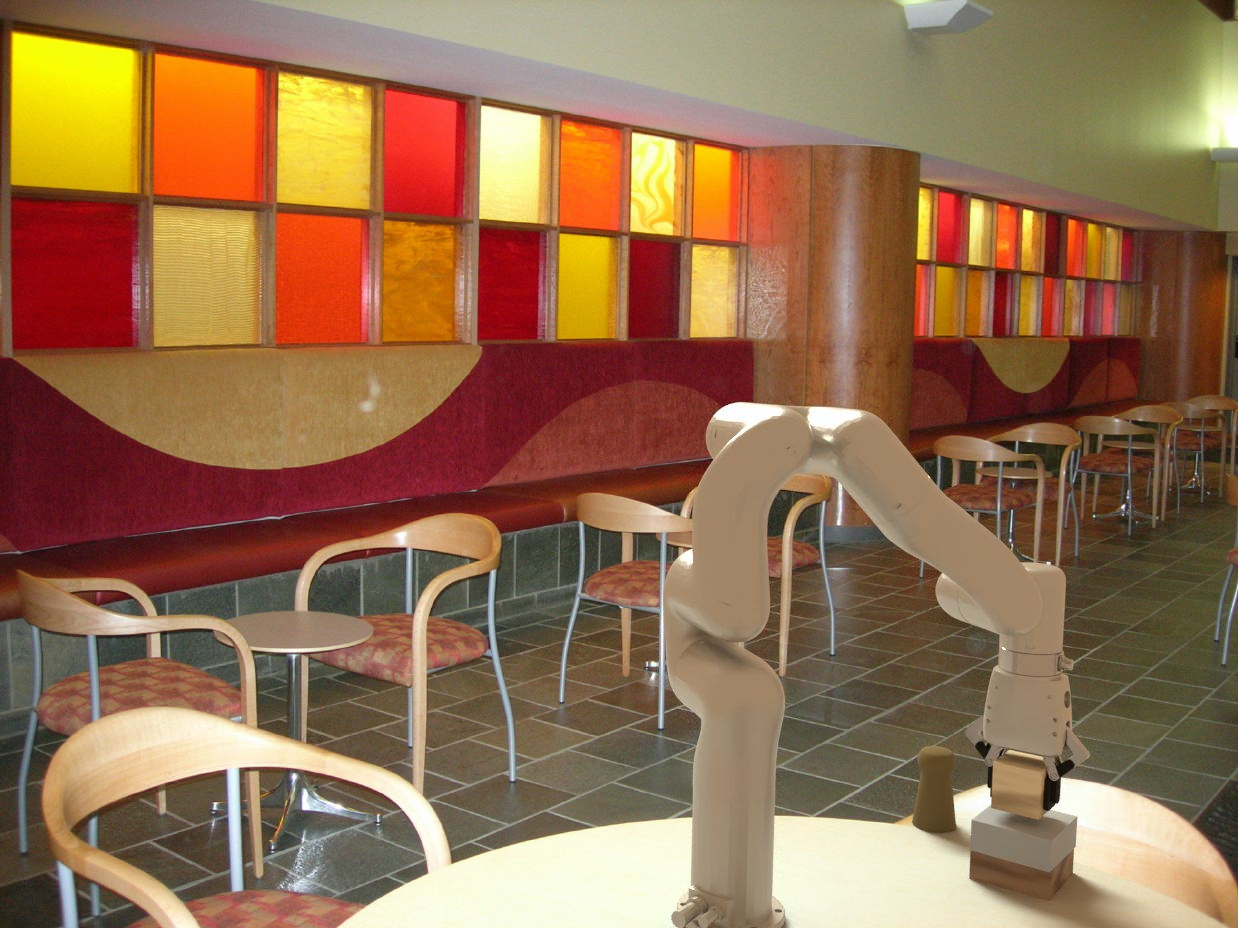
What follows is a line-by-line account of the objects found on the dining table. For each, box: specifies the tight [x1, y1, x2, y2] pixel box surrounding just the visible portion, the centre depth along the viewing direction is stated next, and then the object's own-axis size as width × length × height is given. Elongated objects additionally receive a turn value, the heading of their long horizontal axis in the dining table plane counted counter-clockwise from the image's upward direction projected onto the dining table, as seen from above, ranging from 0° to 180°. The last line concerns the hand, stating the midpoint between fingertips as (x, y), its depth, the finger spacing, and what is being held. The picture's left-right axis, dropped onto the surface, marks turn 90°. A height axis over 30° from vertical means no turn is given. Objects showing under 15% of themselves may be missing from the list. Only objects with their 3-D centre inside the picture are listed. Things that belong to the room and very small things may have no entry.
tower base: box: [968, 848, 1075, 901], centre depth 152 cm, size 10×10×4 cm
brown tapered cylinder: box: [911, 745, 957, 834], centre depth 168 cm, size 6×6×11 cm
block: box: [990, 749, 1048, 820], centre depth 151 cm, size 6×6×6 cm
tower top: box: [969, 804, 1078, 873], centre depth 152 cm, size 10×10×4 cm
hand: (1022, 799), depth 151 cm, fingers closed on block, 6 cm apart
